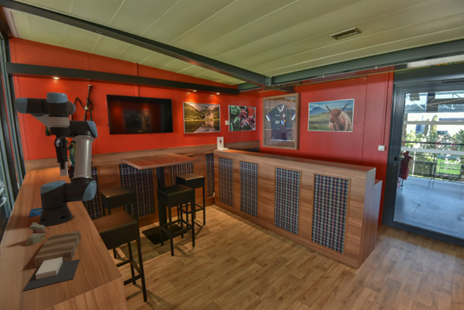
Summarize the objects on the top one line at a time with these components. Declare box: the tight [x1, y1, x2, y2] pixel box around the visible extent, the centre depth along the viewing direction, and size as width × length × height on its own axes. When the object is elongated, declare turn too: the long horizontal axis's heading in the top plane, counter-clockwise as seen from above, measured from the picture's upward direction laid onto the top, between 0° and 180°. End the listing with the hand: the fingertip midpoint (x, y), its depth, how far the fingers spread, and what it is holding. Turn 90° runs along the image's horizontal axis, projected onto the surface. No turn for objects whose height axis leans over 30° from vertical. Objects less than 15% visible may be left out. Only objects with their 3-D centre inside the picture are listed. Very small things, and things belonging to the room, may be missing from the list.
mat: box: [22, 258, 81, 292], centre depth 82 cm, size 13×14×1 cm
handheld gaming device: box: [28, 206, 42, 218], centre depth 139 cm, size 8×1×15 cm
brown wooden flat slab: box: [33, 230, 82, 269], centre depth 96 cm, size 20×12×4 cm, turn 26°
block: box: [36, 257, 63, 279], centre depth 84 cm, size 9×6×2 cm, turn 26°
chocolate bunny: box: [25, 222, 46, 247], centre depth 104 cm, size 6×8×10 cm
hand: (64, 175), depth 104 cm, fingers closed
